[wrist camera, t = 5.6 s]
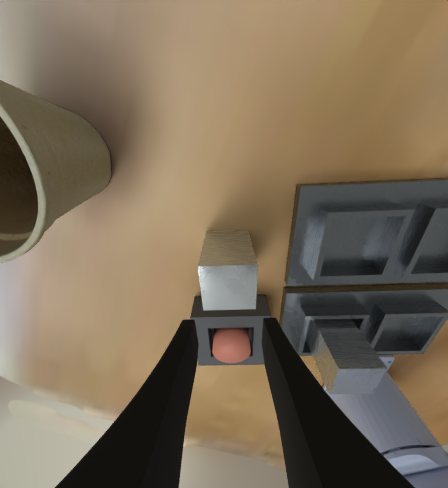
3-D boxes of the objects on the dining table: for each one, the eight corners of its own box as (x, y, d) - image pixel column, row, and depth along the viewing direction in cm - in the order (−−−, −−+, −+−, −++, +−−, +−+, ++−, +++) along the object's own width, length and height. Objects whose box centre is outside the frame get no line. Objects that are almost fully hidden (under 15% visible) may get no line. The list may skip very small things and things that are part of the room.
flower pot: (16, 43, 12) (-358, -146, 4) (152, 136, 14) (66, 121, 7) (2, 173, 16) (-216, 196, 8) (112, 230, 18) (26, 292, 10)
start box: (261, 341, 25) (266, 364, 22) (201, 342, 25) (198, 365, 22) (264, 294, 21) (270, 315, 19) (194, 296, 21) (190, 317, 19)
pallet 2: (413, 343, 25) (432, 362, 22) (276, 345, 25) (281, 364, 23) (451, 282, 20) (479, 299, 18) (283, 287, 21) (290, 304, 18)
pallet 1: (456, 275, 20) (485, 291, 18) (284, 280, 20) (291, 296, 18) (519, 174, 15) (569, 179, 13) (296, 184, 16) (308, 190, 14)
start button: (247, 342, 23) (250, 363, 20) (214, 342, 23) (213, 363, 21) (248, 318, 21) (251, 338, 19) (212, 319, 21) (211, 339, 19)
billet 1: (247, 265, 20) (255, 309, 14) (209, 266, 20) (203, 310, 14) (248, 229, 18) (257, 264, 12) (206, 231, 18) (197, 266, 13)
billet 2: (338, 336, 23) (372, 393, 17) (304, 337, 23) (328, 394, 18) (346, 312, 21) (387, 368, 16) (310, 313, 21) (338, 369, 16)
